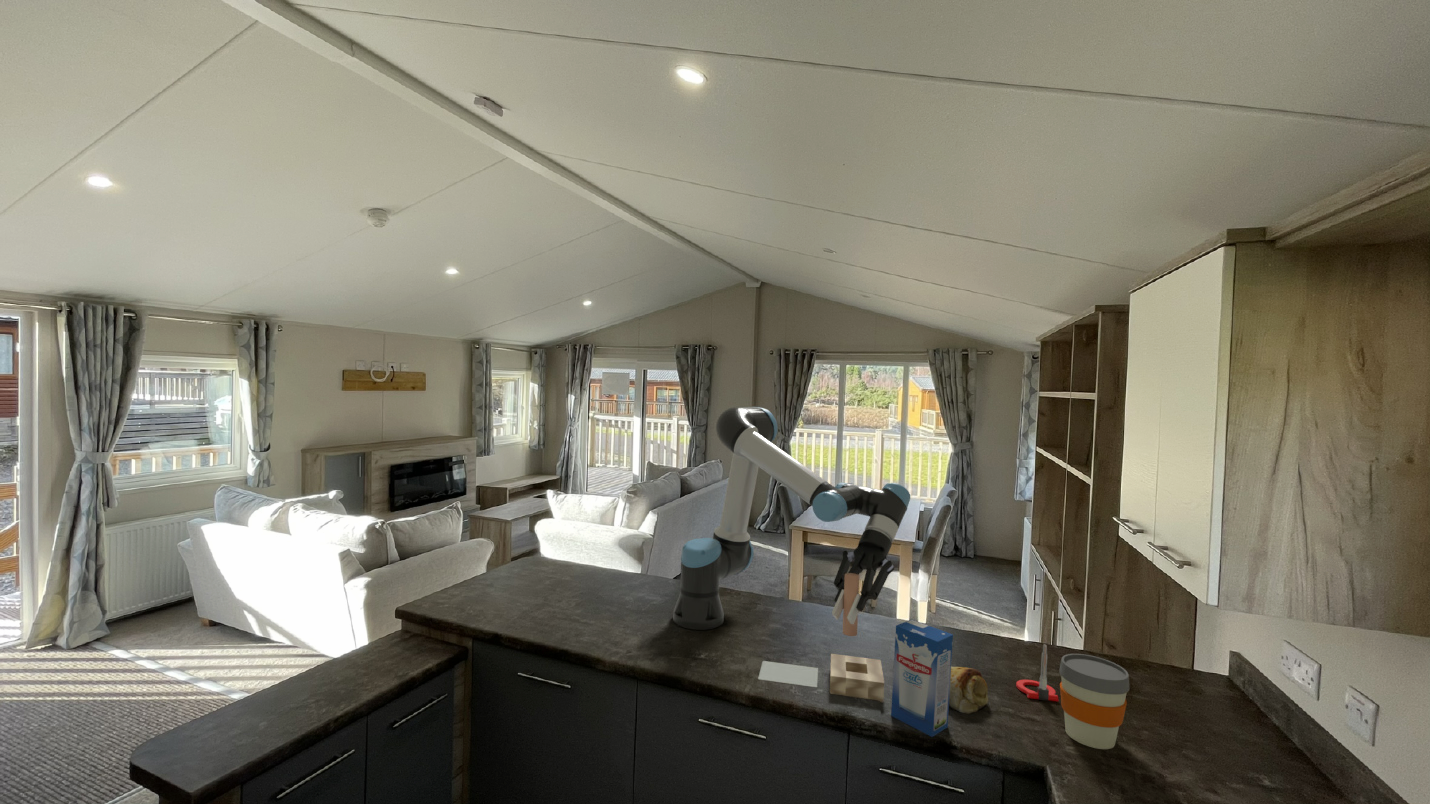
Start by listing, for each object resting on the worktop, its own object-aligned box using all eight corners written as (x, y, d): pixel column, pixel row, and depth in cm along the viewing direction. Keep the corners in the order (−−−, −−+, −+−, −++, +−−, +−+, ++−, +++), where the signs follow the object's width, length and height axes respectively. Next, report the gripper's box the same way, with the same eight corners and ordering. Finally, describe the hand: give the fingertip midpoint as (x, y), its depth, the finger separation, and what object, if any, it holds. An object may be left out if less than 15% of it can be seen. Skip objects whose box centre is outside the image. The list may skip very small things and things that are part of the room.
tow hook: (1011, 682, 152) (1024, 699, 142) (1013, 630, 152) (1027, 644, 143) (1047, 686, 150) (1062, 703, 141) (1049, 634, 151) (1065, 648, 141)
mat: (757, 680, 145) (757, 679, 145) (762, 662, 155) (762, 660, 155) (816, 688, 143) (817, 687, 143) (818, 669, 153) (818, 668, 153)
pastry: (985, 720, 133) (987, 684, 132) (926, 704, 138) (928, 669, 138) (989, 692, 145) (991, 659, 145) (934, 679, 151) (936, 647, 151)
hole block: (829, 694, 140) (830, 675, 140) (830, 671, 152) (831, 653, 152) (883, 702, 138) (884, 683, 138) (879, 677, 150) (880, 659, 150)
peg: (842, 635, 143) (844, 576, 143) (842, 629, 147) (844, 572, 146) (857, 636, 143) (859, 577, 142) (856, 631, 146) (859, 573, 146)
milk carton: (890, 715, 132) (895, 625, 132) (906, 706, 136) (911, 619, 136) (932, 737, 125) (937, 641, 124) (948, 727, 129) (953, 634, 128)
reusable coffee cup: (1053, 739, 126) (1057, 668, 126) (1058, 713, 136) (1062, 648, 136) (1125, 762, 119) (1130, 687, 119) (1125, 733, 130) (1129, 664, 129)
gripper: (913, 552, 150) (879, 637, 138) (853, 539, 161) (818, 617, 149) (904, 534, 146) (869, 620, 134) (844, 522, 157) (806, 601, 145)
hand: (842, 618), depth 142 cm, fingers closed on peg, 3 cm apart
